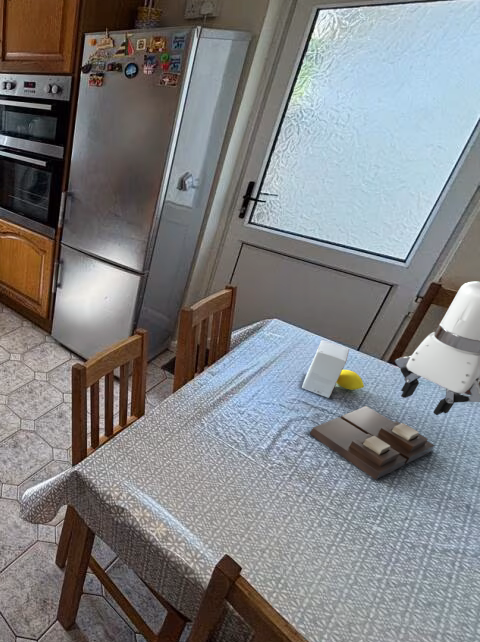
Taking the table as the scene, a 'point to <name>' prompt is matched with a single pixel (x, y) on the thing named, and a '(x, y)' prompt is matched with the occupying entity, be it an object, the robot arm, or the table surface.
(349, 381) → the lemon
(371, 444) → the key
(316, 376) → the small box
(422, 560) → the table surface
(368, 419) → the keys low
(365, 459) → the keys high
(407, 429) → the key
